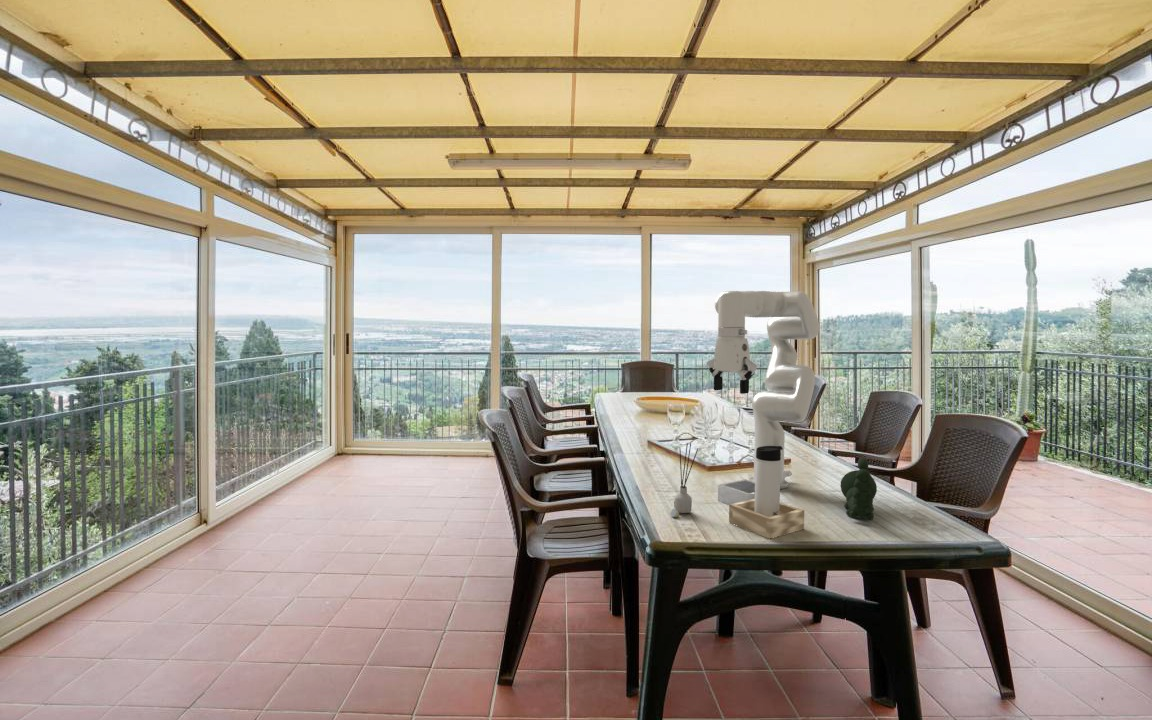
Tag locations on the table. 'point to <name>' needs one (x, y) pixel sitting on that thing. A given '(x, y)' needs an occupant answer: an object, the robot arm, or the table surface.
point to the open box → (736, 491)
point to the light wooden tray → (766, 519)
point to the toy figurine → (859, 491)
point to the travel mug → (767, 480)
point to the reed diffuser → (683, 492)
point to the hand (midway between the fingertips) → (730, 391)
